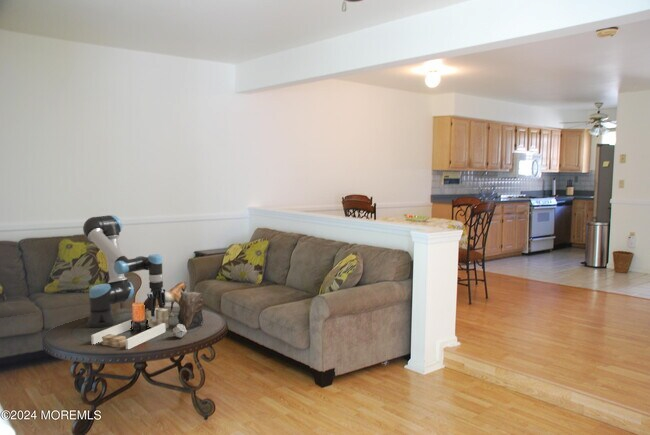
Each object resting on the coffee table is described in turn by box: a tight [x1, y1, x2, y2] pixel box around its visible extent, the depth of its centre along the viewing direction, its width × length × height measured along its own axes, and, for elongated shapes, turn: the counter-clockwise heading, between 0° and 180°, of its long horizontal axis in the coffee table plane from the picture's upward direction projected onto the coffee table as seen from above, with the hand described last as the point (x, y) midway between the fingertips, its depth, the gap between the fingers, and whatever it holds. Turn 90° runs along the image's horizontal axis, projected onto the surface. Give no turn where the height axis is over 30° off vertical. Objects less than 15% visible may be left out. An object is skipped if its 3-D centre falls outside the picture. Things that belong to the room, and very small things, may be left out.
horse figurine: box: [143, 281, 187, 317], centre depth 334 cm, size 31×8×21 cm, turn 128°
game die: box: [170, 321, 189, 340], centre depth 296 cm, size 9×8×10 cm
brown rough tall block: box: [177, 291, 204, 331], centre depth 318 cm, size 13×13×20 cm
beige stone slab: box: [145, 307, 170, 329], centre depth 316 cm, size 13×4×11 cm, turn 70°
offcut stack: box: [100, 334, 127, 349], centre depth 286 cm, size 13×6×4 cm, turn 65°
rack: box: [90, 319, 166, 350], centre depth 297 cm, size 24×31×5 cm
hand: (157, 320), depth 316 cm, fingers open, 5 cm apart
